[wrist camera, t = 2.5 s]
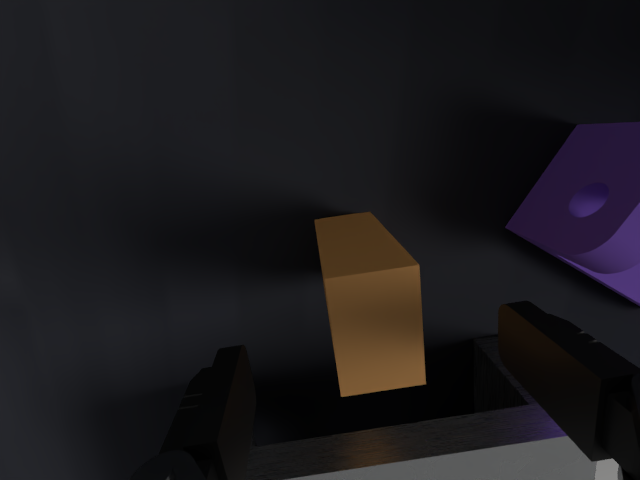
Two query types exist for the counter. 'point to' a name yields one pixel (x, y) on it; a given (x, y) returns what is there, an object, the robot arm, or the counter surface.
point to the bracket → (590, 206)
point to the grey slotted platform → (441, 442)
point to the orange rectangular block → (371, 305)
